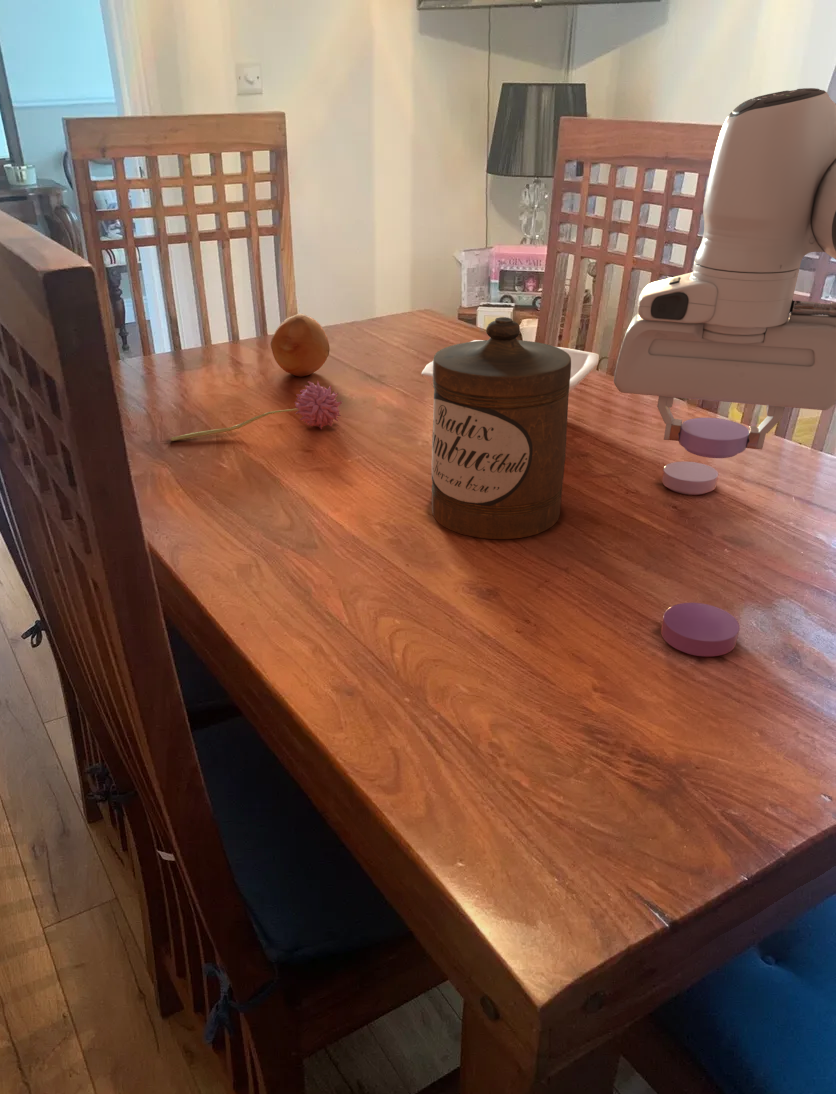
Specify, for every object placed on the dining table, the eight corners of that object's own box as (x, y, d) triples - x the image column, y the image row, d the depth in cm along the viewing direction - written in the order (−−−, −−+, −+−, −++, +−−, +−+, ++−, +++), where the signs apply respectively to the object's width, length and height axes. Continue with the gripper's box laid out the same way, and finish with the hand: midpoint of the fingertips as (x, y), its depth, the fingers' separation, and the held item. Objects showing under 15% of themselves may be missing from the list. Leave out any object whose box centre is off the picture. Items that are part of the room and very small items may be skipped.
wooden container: (405, 514, 100) (404, 320, 89) (484, 477, 109) (492, 297, 98) (507, 554, 91) (520, 345, 80) (584, 510, 100) (606, 316, 89)
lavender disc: (744, 440, 87) (749, 420, 86) (745, 464, 82) (750, 443, 81) (678, 434, 89) (682, 414, 88) (675, 456, 84) (679, 436, 83)
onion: (273, 367, 153) (268, 309, 148) (329, 365, 154) (326, 307, 149) (272, 383, 145) (267, 323, 140) (331, 381, 145) (329, 320, 140)
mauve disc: (734, 628, 79) (739, 608, 77) (735, 667, 73) (740, 646, 72) (662, 617, 80) (665, 597, 79) (657, 654, 75) (661, 634, 74)
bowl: (603, 407, 132) (609, 351, 128) (557, 457, 115) (563, 395, 110) (469, 388, 141) (471, 336, 136) (408, 433, 123) (408, 374, 119)
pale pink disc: (715, 480, 107) (718, 464, 106) (715, 500, 102) (718, 484, 101) (662, 474, 109) (665, 458, 108) (659, 494, 104) (661, 477, 103)
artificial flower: (180, 471, 119) (351, 426, 123) (164, 422, 117) (340, 377, 121) (178, 462, 125) (342, 419, 129) (163, 415, 123) (331, 372, 127)
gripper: (861, 297, 78) (823, 442, 85) (628, 284, 83) (611, 422, 91) (871, 312, 73) (829, 466, 80) (622, 298, 78) (604, 443, 85)
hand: (711, 442), depth 85 cm, fingers closed on lavender disc, 6 cm apart
